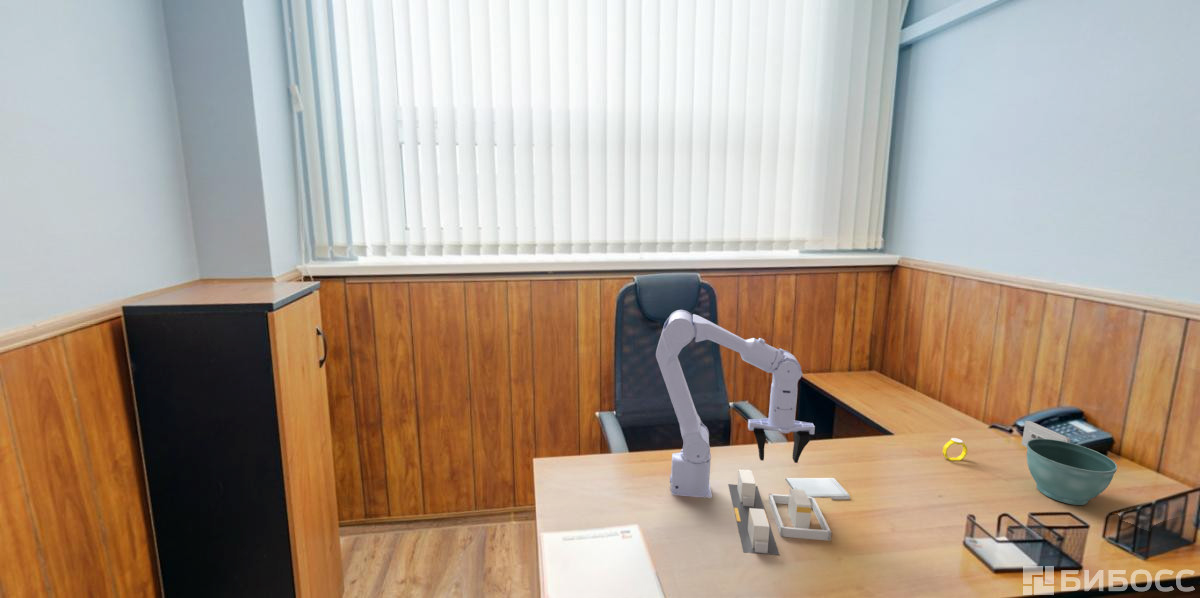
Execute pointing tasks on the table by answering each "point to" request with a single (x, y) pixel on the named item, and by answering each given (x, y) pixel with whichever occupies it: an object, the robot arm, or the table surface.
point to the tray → (799, 532)
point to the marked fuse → (799, 508)
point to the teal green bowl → (1068, 470)
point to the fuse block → (742, 522)
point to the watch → (959, 442)
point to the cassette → (1040, 433)
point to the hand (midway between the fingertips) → (778, 459)
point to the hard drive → (819, 487)
